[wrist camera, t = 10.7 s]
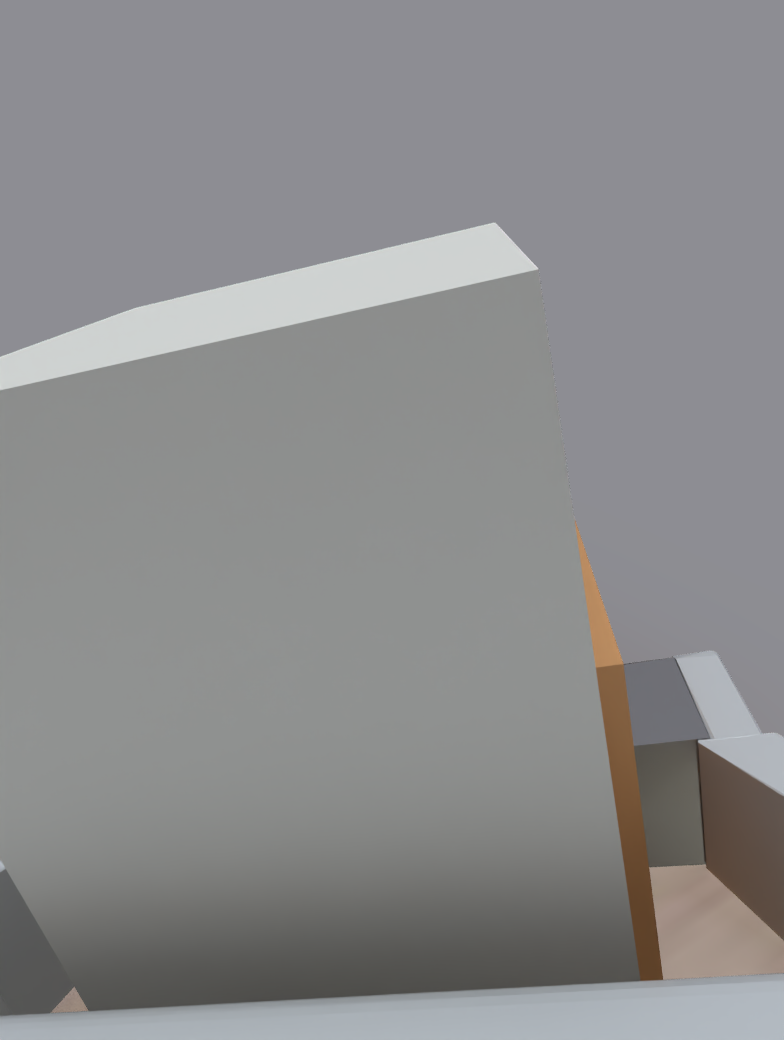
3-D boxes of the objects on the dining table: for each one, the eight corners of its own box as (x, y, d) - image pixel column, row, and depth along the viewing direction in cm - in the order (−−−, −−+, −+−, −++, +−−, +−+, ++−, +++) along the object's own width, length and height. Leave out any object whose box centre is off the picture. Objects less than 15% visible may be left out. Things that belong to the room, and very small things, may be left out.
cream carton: (320, 1406, 10) (-242, 443, 5) (370, 979, 16) (134, 308, 10) (724, 1421, 9) (589, 257, 4) (627, 962, 15) (515, 217, 9)
